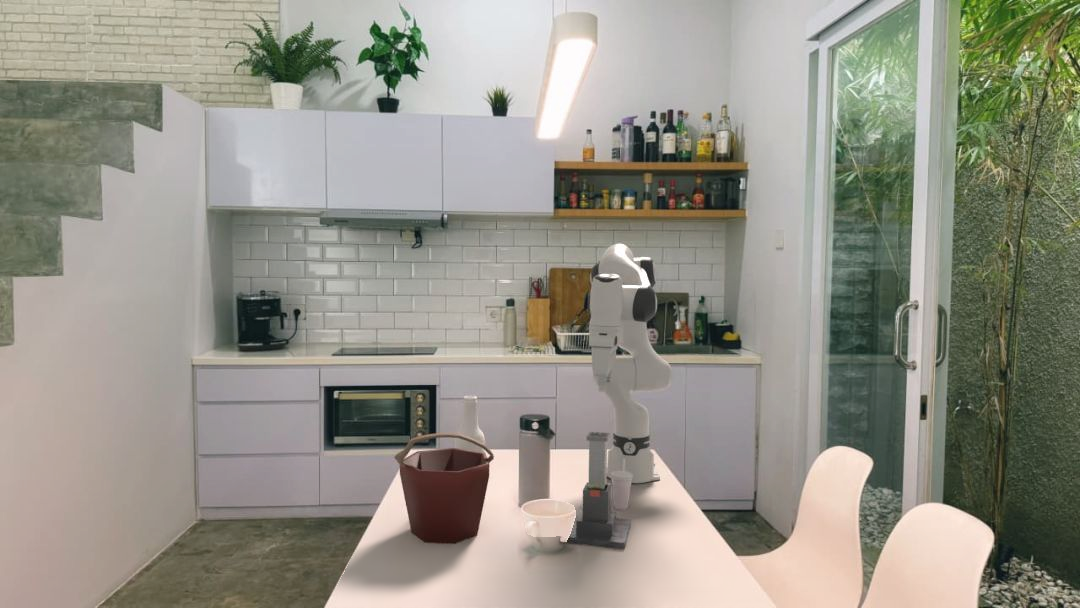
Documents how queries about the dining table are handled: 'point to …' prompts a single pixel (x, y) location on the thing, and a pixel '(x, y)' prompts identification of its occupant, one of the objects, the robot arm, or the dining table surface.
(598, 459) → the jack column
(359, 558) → the dining table surface
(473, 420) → the white bottle
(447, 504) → the bucket
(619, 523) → the base
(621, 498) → the smoothie
